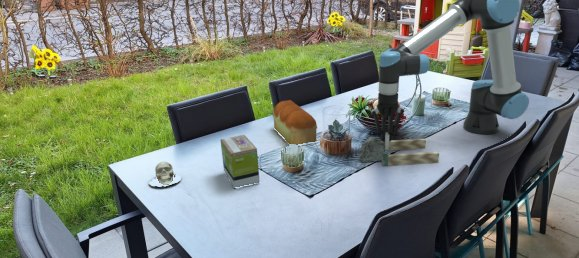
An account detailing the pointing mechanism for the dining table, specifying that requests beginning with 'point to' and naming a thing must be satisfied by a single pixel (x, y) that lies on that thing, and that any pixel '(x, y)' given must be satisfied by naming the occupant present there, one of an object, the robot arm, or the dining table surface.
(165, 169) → the skull
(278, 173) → the dining table surface
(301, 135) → the bread
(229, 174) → the tea box
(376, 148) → the stone
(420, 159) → the chevron patterned bars
